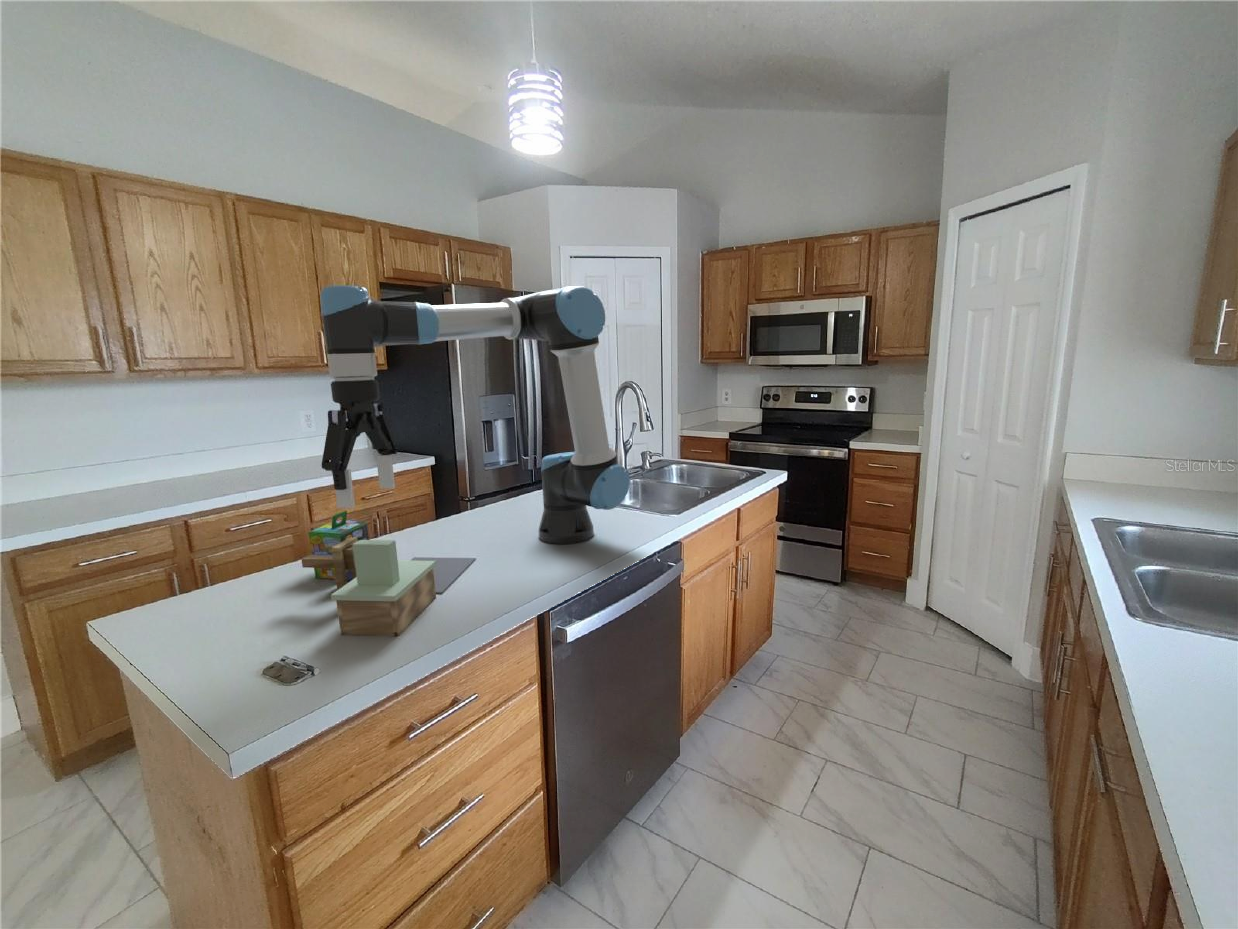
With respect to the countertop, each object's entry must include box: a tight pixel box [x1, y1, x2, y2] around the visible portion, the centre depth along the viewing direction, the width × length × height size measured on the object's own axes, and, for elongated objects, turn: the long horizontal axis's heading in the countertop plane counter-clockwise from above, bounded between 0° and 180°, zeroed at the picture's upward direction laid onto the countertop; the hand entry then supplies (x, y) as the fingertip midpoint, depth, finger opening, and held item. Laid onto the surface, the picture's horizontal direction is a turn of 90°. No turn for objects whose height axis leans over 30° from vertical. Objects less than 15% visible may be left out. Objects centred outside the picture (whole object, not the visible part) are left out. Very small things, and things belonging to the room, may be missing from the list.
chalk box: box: [308, 510, 370, 580], centre depth 129 cm, size 9×9×15 cm
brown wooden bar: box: [300, 546, 355, 569], centre depth 111 cm, size 2×11×4 cm, turn 84°
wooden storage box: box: [331, 538, 437, 637], centre depth 107 cm, size 16×17×13 cm
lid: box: [330, 539, 436, 601], centre depth 106 cm, size 17×12×9 cm
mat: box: [409, 556, 477, 595], centre depth 127 cm, size 16×20×1 cm
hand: (368, 497), depth 100 cm, fingers open, 13 cm apart
